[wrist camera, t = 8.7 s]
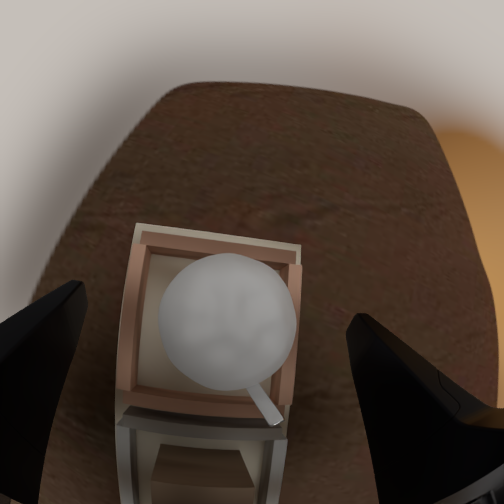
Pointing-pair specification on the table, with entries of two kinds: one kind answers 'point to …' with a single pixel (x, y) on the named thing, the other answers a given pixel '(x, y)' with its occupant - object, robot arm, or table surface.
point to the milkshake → (229, 325)
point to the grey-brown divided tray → (193, 388)
